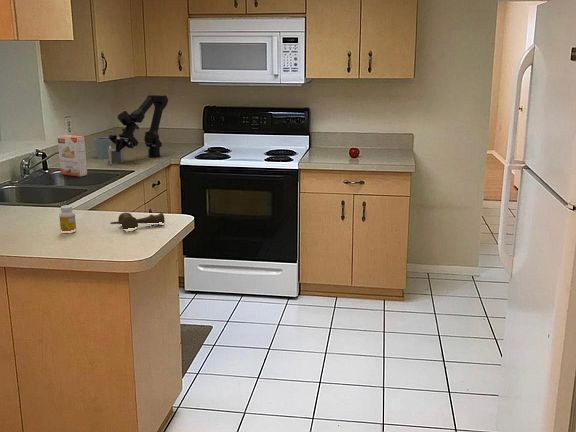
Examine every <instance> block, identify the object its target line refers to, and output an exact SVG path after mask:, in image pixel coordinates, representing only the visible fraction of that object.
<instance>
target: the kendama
mask: <svg viewBox="0 0 576 432" xmlns="http://www.w3.org/2000/svg"><path fill="white" fill-rule="evenodd" d="M117 218H118V220H117V221H111V222H110V224H111V225H120V224H122V226H121V229H122V230H123V229H128V228H135V227H137V228H138V226H139V224H143V223H159V222H162V223H164V224H165V220H166V219H165V214H164V213H163V212H160V213H159V214H156V215H155V214H150V215H149V216H146V217H145V216H144V217H141V218H136V217H134V216H133V215H132V214H131V213H130V212H122V213H120V214H119V215H118V217H117Z"/></svg>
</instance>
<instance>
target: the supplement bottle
mask: <svg viewBox="0 0 576 432" xmlns="http://www.w3.org/2000/svg"><path fill="white" fill-rule="evenodd" d="M60 211H61V212H59V214H58V215H59V227H60V231H61V230H62V231H71V230H74V229H76V230H77V223H76V213H75V212H74V211H73V205H69V204H68V205H67V204H65V205H61V206H60Z"/></svg>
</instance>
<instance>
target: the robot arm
mask: <svg viewBox="0 0 576 432" xmlns="http://www.w3.org/2000/svg"><path fill="white" fill-rule="evenodd" d="M168 103H169V98H168V97H167V95H166V94H165V95H164V94H156V95H155V94H148V95H147V96H146V98H145V100H144V101H143V102H142V103H141V104H140V106H139V107H138V108H137V109H135V110H133V111H132V112H131V113H130V114H129V112H128V111H127V110H123V111H122V112H121V113H119V114H118V115H117V119H118V121H119V122H120V123H121V124H122V125H123V126H125V127H123V128H122V129H121V133H120V134H119V135H118V136H117V135H116V134H109V136H108V138H109V139H110V140H111V143H112V144H115V149H116V152H119V151H121V150H122V149H123V150H124V148H128V149H134V147H138V145H139V141H138V139H136V137H135V135H134V132H135V131H136V130H140V127H139V124H142V122H143V121H144V119H145V115H146V113H147V112H148V111H149V109H151V107H152V105H153V106H154V111H153V113H152V114H153V115H152V119H151V123H150V127H149V130H148V131H145V133H144V134H145V135H144V137H143V138H144V142H145V146H146V147H147V148H148V149H147V156H148V157H149V158H161V149H160V148H162V146H163V143H162V142H161V140H160V135H159V128H160V124H161V119H162V115H163V111H164V109H165V108H166V107H167V106H168ZM137 123H138V124H137Z"/></svg>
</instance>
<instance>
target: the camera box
mask: <svg viewBox="0 0 576 432" xmlns="http://www.w3.org/2000/svg"><path fill="white" fill-rule="evenodd" d="M111 153H112V164H115V163H116V164H117V163H118V164H119V163H123V162H124V161H125V153H124V148H123V149H122V150H121V151H119V152H116V148H115V149H114V148H111ZM107 159H108V162H109V164H110V160H109V155H108V158H107Z"/></svg>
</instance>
